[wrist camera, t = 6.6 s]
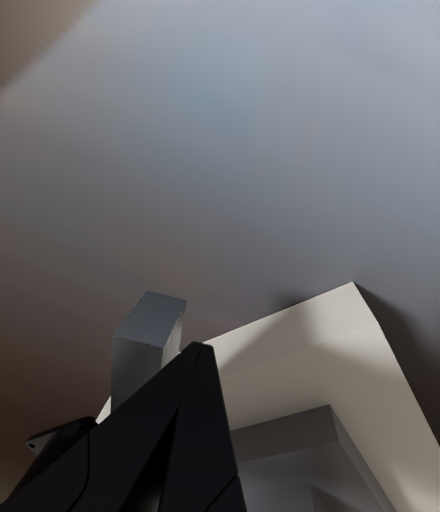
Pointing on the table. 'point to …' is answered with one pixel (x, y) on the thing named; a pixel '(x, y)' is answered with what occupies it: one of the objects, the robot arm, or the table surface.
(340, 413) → the socket block
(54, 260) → the table surface
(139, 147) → the table surface
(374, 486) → the plug
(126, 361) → the bar
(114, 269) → the table surface
